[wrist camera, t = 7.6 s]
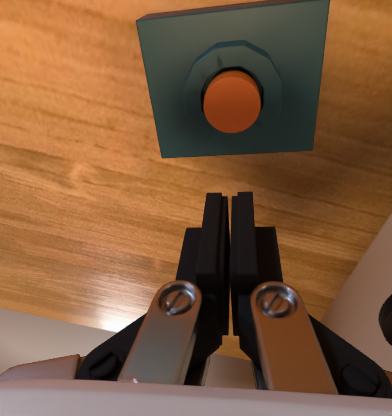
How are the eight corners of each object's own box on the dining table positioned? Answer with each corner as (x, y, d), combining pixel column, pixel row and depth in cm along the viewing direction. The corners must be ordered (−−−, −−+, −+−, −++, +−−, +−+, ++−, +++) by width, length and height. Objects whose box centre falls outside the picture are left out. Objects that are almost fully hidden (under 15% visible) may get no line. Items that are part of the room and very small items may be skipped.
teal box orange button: (319, -6, 22) (338, 0, 18) (305, 133, 27) (317, 162, 24) (146, 14, 23) (127, 24, 19) (168, 142, 29) (157, 169, 25)
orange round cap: (259, 67, 20) (261, 74, 19) (258, 121, 23) (260, 131, 21) (203, 72, 21) (200, 79, 20) (207, 125, 23) (205, 135, 22)
